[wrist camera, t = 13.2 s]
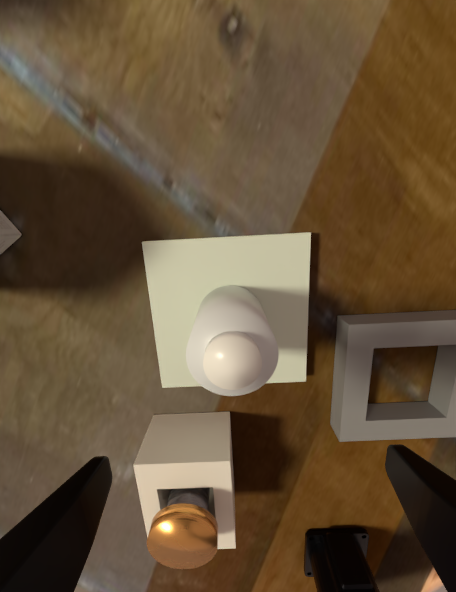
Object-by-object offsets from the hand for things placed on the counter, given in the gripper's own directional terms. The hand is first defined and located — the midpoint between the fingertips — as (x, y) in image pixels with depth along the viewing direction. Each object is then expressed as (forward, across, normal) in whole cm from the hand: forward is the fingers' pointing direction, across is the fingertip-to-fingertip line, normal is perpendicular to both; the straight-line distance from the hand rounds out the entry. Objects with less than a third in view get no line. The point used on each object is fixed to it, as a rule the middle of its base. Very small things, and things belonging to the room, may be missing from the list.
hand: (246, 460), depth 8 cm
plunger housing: (+13, +4, +13) cm, 19 cm away
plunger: (+11, +5, +13) cm, 18 cm away
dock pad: (+13, 0, -1) cm, 13 cm away
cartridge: (+12, 0, -1) cm, 12 cm away
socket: (+13, -14, +5) cm, 19 cm away
